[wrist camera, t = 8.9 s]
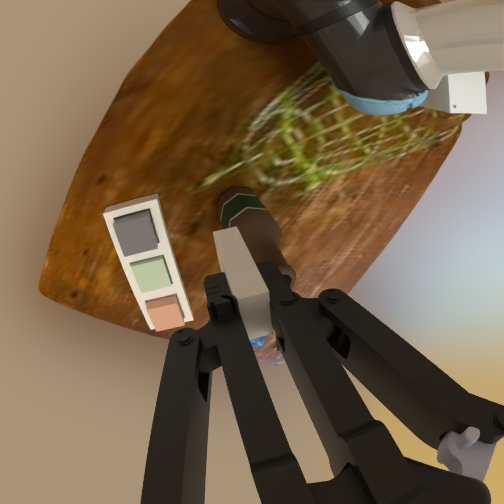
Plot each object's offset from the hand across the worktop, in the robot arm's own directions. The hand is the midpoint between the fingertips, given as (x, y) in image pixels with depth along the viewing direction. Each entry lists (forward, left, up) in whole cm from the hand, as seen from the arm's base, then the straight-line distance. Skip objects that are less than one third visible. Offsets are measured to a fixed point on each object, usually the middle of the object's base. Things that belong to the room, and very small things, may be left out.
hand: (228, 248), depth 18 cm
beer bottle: (+11, +6, -33) cm, 35 cm away
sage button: (+19, -12, -31) cm, 39 cm away
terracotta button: (+28, -12, -30) cm, 43 cm away
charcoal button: (+10, -12, -30) cm, 34 cm away
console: (+19, -12, -32) cm, 39 cm away
